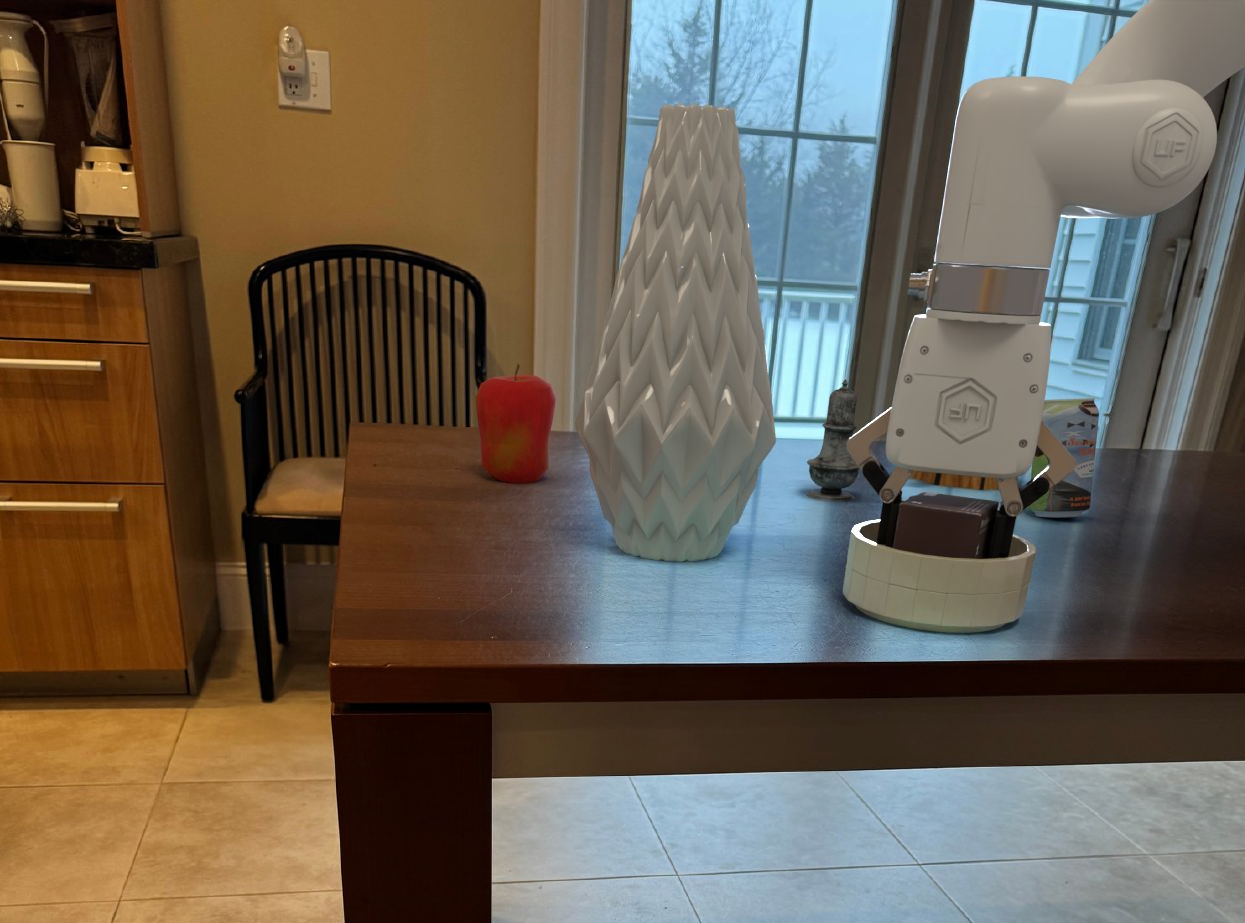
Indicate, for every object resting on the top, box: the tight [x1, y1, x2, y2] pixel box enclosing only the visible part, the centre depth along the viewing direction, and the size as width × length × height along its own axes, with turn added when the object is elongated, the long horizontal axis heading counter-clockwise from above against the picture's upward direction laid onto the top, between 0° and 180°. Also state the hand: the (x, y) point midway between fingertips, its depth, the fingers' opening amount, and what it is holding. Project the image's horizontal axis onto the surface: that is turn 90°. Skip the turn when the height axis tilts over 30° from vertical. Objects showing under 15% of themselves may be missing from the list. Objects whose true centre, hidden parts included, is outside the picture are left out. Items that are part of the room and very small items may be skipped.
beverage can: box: [1028, 397, 1100, 518], centre depth 120 cm, size 6×7×12 cm
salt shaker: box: [805, 378, 861, 502], centre depth 124 cm, size 6×6×12 cm
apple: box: [474, 363, 557, 484], centre depth 124 cm, size 9×8×12 cm
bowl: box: [842, 519, 1037, 634], centre depth 87 cm, size 13×13×6 cm
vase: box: [574, 103, 777, 563], centre depth 94 cm, size 17×17×33 cm
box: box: [893, 491, 1000, 559], centre depth 87 cm, size 6×6×7 cm
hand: (940, 559), depth 87 cm, fingers closed on box, 6 cm apart
